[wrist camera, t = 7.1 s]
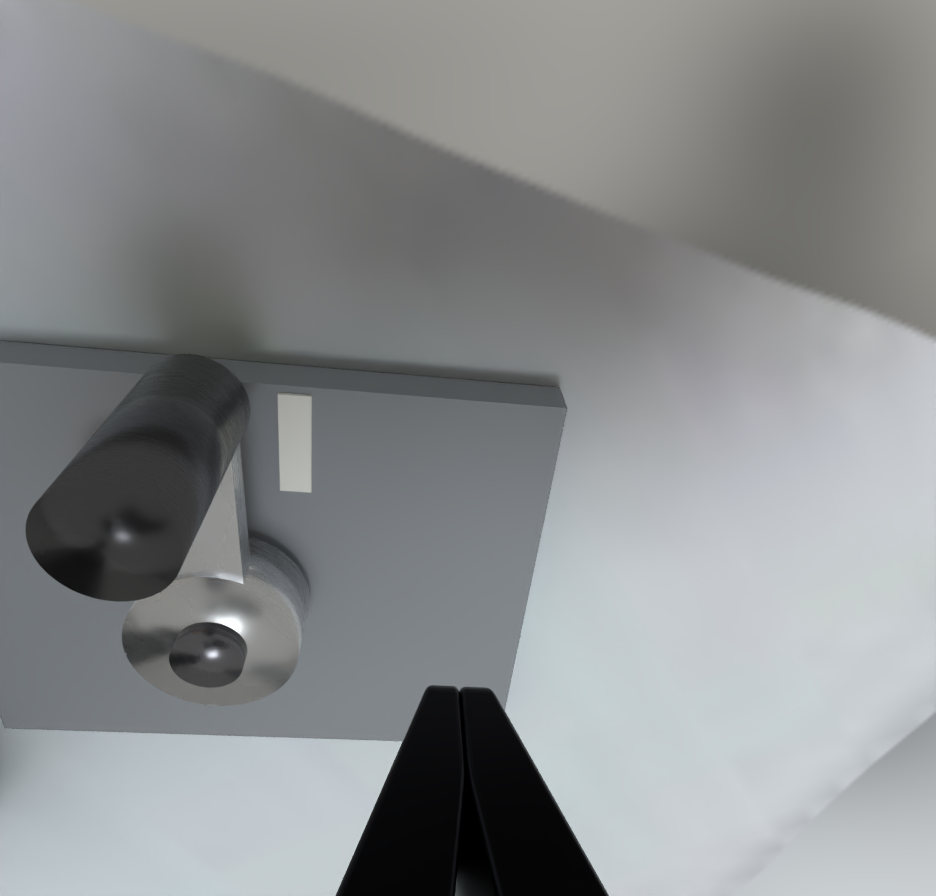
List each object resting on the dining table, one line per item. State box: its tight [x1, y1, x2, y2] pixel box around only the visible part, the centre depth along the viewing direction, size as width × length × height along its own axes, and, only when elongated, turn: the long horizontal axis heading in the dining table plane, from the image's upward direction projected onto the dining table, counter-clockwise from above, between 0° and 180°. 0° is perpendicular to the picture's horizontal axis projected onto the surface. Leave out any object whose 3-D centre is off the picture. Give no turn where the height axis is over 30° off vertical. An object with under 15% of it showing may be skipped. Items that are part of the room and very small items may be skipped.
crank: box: [25, 354, 310, 706], centre depth 16 cm, size 10×4×6 cm, turn 175°
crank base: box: [0, 341, 567, 741], centre depth 19 cm, size 16×13×4 cm
